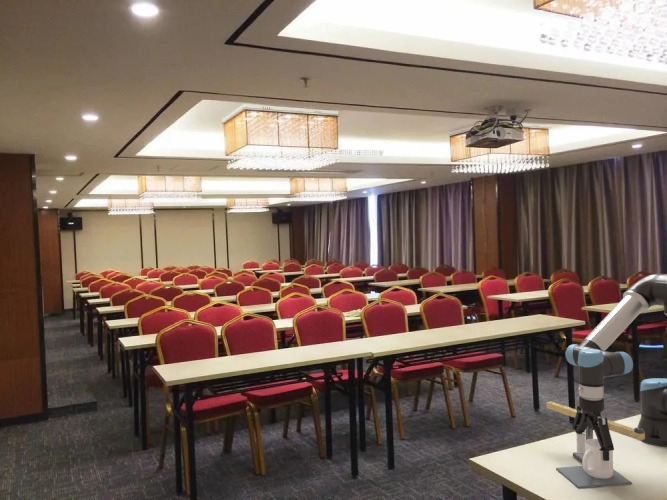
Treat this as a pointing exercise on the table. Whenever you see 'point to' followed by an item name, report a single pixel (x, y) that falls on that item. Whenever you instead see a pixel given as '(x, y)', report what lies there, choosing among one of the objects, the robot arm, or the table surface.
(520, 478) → the table surface
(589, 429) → the lever post
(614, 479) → the felt mat
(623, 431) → the lever
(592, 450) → the mug
